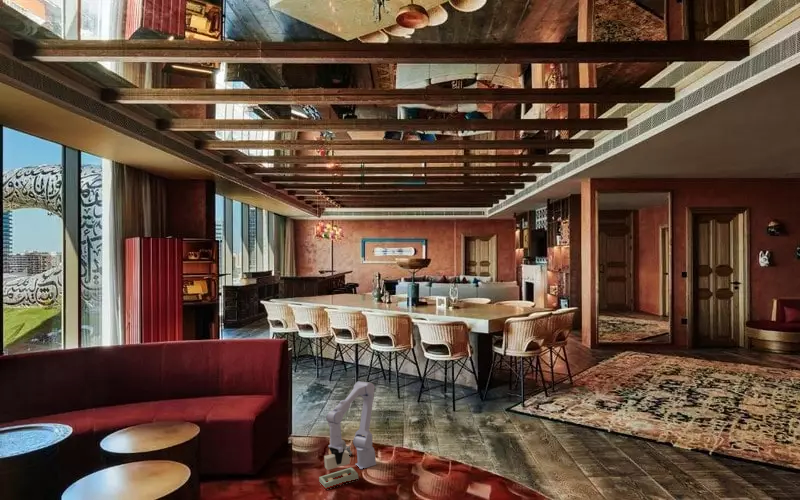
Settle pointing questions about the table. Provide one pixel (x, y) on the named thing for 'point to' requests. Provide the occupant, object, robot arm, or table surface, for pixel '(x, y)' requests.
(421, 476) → the table surface
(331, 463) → the beige rectangular block
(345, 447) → the chubby cartoon animal
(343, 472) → the rack
